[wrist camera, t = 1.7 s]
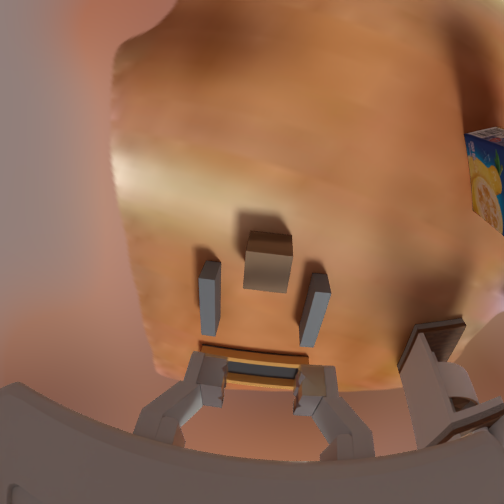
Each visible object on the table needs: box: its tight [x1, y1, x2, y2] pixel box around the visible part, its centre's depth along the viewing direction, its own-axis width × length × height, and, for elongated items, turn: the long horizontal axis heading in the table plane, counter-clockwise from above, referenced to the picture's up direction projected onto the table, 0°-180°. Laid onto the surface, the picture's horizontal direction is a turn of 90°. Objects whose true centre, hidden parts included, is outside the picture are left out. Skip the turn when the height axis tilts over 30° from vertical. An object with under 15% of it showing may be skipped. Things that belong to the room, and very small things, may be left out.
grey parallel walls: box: [199, 261, 331, 347], centre depth 37 cm, size 10×16×4 cm, turn 86°
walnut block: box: [243, 231, 293, 293], centre depth 33 cm, size 5×5×5 cm
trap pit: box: [201, 344, 309, 389], centre depth 46 cm, size 8×18×2 cm, turn 86°
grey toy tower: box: [397, 318, 504, 449], centre depth 26 cm, size 11×11×35 cm
